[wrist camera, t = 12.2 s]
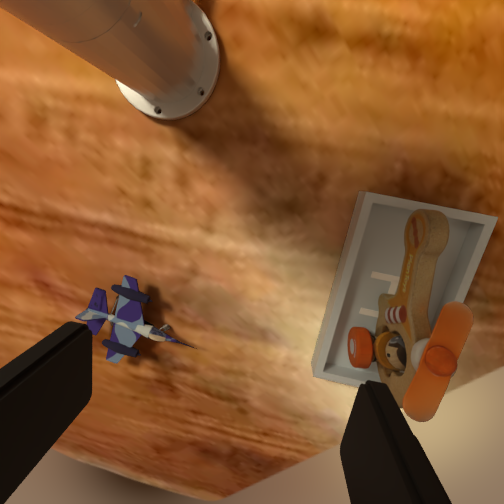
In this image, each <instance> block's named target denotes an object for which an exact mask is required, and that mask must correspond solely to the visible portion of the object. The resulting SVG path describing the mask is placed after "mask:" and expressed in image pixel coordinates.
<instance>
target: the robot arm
mask: <svg viewBox="0 0 504 504" xmlns="http://www.w3.org/2000/svg"><path fill="white" fill-rule="evenodd" d="M0 7H1V8H2V9H4V10H6V11H7V12H9V13H10V14H12V15H14V16H15V17H17V18H19V19H20V20H22V21H24V22H25V23H27V24H28V25H30V26H32V27H33V28H35V29H36V30H38V31H40V32H41V33H43V34H44V35H46V36H47V37H49V38H51V39H52V40H54V41H55V42H57V43H59V44H60V45H62V46H63V47H65V48H67V49H68V50H70V51H71V52H73V53H75V54H76V55H78V56H79V57H81V58H82V59H84V60H86V61H87V62H89V63H90V64H92V65H94V66H95V67H97V68H98V69H100V70H102V71H103V72H105V73H106V74H108V75H109V76H111V77H113V78H114V79H115V81H116V83H117V85H118V87H119V89H120V91H121V93H122V94H123V95H124V96H125V98H126V99H127V100H128V102H130V103H131V104H132V105H133V106H134V107H135V108H136V109H138V110H140V111H141V112H143V113H145V114H146V115H149V116H151V117H153V118H157V119H161V120H176V119H181V118H184V117H186V116H189V115H191V114H193V113H194V112H195V111H197V110H198V109H200V108H201V107H202V106H203V104H204V103H205V102H206V101H207V100H208V98H209V97H210V95H211V94H212V92H213V90H214V88H215V85H216V83H217V80H218V75H219V71H220V50H219V44H218V40H217V37H216V34H215V32H214V29H213V27H212V24H211V23H210V21H209V19H208V18H207V16H206V14H205V13H204V12H203V11H202V10H201V9H200V7H199V6H198V5H197V4H195V3H194V2H193V1H192V0H0ZM209 38H211V40H210V41H208V39H209ZM202 92H204V95H203V96H201V93H202ZM160 110H162V111H161V113H160V114H159V112H160ZM91 395H92V331H91V330H90V329H89V327H88V325H86V324H82V323H77V322H72V321H70V322H67V323H65V324H64V325H62V326H61V327H60V328H58V329H57V330H55V331H54V332H52V333H51V334H49V335H48V336H47V337H45V338H44V339H42V340H41V341H39V342H38V343H37V344H35V345H34V346H32V347H31V348H29V349H28V350H26V351H25V352H24V353H22V354H21V355H19V356H18V357H16V358H15V359H14V360H12V361H11V362H9V363H8V364H6V365H5V366H3V367H2V368H1V369H0V504H4V503H5V502H6V501H7V499H8V498H9V497H10V496H11V494H12V493H13V492H14V491H15V490H16V489H17V487H18V486H19V485H20V484H21V483H22V481H23V480H24V479H25V478H26V477H27V475H28V474H29V473H30V472H31V471H32V469H33V468H34V467H35V466H36V465H37V463H38V462H39V461H40V460H41V459H42V457H43V456H44V455H45V453H47V451H48V450H49V449H50V448H51V447H52V446H53V444H54V443H55V442H56V441H57V440H58V438H59V437H60V436H61V435H62V434H63V432H64V431H65V430H66V429H67V428H68V426H69V425H70V424H71V423H72V422H73V420H74V419H75V418H76V417H77V416H78V414H79V413H80V412H81V411H82V410H83V408H84V407H85V406H86V405H87V403H88V402H89V400H90V398H91ZM340 456H341V461H342V466H343V470H344V474H345V479H346V484H347V488H348V493H349V497H350V502H351V504H452V503H451V501H450V499H449V497H448V495H447V493H446V492H445V490H444V488H443V486H442V484H441V482H440V480H439V478H438V476H437V475H436V473H435V471H434V469H433V467H432V465H431V463H430V461H429V460H428V458H427V456H426V454H425V452H424V450H423V448H422V447H421V444H420V443H419V441H418V439H417V438H416V436H415V435H413V433H412V431H411V429H410V427H409V425H408V424H407V421H406V420H405V418H404V416H403V414H402V412H401V410H400V408H399V406H398V404H397V402H396V400H395V398H394V397H393V395H392V393H391V391H390V389H389V387H388V385H387V384H385V383H381V382H376V381H371V380H367V381H366V382H365V384H363V383H362V384H360V386H359V389H358V392H357V395H356V398H355V401H354V405H353V408H352V411H351V414H350V417H349V420H348V423H347V426H346V429H345V432H344V435H343V439H342V442H341V445H340Z"/></svg>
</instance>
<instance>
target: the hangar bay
mask: <svg viewBox="0 0 504 504" xmlns="http://www.w3.org/2000/svg"><path fill="white" fill-rule="evenodd" d="M417 209H429V210H437V211H440V212H442V213H443V214H444V215H445V216H446V217H447V220H448V223H449V230H450V232H449V239H448V243H447V245H446V248H445V249H444V251H443V252H442V253H441V254H440V256H439V257H438V260H437V263H436V269H435V274H434V280H433V285H432V291H431V296H430V302H429V308H428V318H429V322H430V326H431V330H432V331H433V329H434V326H435V324H436V322H437V319H438V317H439V314H440V312H441V309H442V307H443V306H444V305H445V304H446V303H449V302H453V301H457V302H461V303H463V302H464V299H465V297H466V294H467V292H468V289H469V287H470V285H471V282H472V280H473V277H474V275H475V273H476V270H477V268H478V265H479V263H480V260H481V258H482V256H483V253H484V251H485V248H486V246H487V243H488V241H489V239H490V236H491V234H492V231H493V229H494V226H495V224H496V222H497V219H498V217H495V216H489V215H484V214H479V213H474V212H469V211H464V210H459V209H453V208H448V207H443V206H438V205H433V204H428V203H423V202H418V201H412V200H407V199H402V198H397V197H392V196H387V195H382V194H376V193H371V192H366V191H359V193H358V197H357V200H356V204H355V207H354V211H353V215H352V218H351V222H350V225H349V229H348V232H347V236H346V239H345V243H344V247H343V250H342V254H341V257H340V261H339V264H338V268H337V272H336V275H335V279H334V282H333V286H332V289H331V293H330V297H329V300H328V304H327V307H326V311H325V314H324V318H323V322H322V325H321V329H320V332H319V336H318V339H317V343H316V347H315V350H314V354H313V357H312V361H311V366H312V372H313V377H317V378H321V379H325V380H330V381H334V382H338V383H342V384H347V385H351V386H355V387H359V386H360V384H362V383H363V384H365V382H366V381H367V380H371V381H376V382H381V380H380V377H379V373H378V368H377V363H376V362H372V363H371V365H370V367H369V368H367V369H363V368H355V367H353V366H352V365H351V363H350V360H349V356H348V346H347V343H348V333H349V331H350V329H351V328H352V327H364V328H367V329H368V330H369V332H370V335H372V336H375V330H376V323H377V319H378V314H379V308H378V299H379V296H380V295H381V294H382V293H385V294H393V295H395V294H396V291H397V288H398V283H399V278H400V274H401V269H402V264H403V259H404V255H405V246H404V230H405V226H406V223H407V220H408V218H409V217H410V215H411V214H412V213H413V212H414V211H415V210H417ZM400 372H402V373H404V371H400Z"/></svg>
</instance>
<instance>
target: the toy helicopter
mask: <svg viewBox="0 0 504 504" xmlns="http://www.w3.org/2000/svg"><path fill="white" fill-rule="evenodd" d="M449 232H450V230H449V223H448V220H447V217H446V216H445V215H444V214H443V213H442V212H440V211H437V210H429V209H417V210H415V211H414V212H413V213H412V214H411V215H410V217H409V218H408V220H407V223H406V226H405V230H404V246H405V255H404V259H403V264H402V269H401V274H400V278H399V283H398V288H397V291H396V294H395V295H393V294H385V293H382V294H381V295H380V296H379V299H378V308H379V314H378V319H377V323H376V330H375V336H372V335H370V332H369V330H368V329H367V328H364V327H352V328H351V329H350V331H349V333H348V343H347V346H348V356H349V360H350V363H351V365H352V366H353V367H355V368H363V369H367V368H369V367H370V365H371V363H372V362H376V363H377V368H378V373H379V377H380V380H381V383H385V384H387V385H388V387H389V389H390V391H391V393H392V395H393V397H394V398H395V400H396V402H397V404H398V406H399V408H403V409H404V411H405V413H406V414H407V415H408V416H409V417H410V418H411V419H413V420H415V421H418V422H426V421H428V420H430V419H431V418H433V416H434V415H435V413H436V411H437V409H438V406H439V404H440V402H441V400H442V398H443V396H444V393H445V391H446V389H447V386H448V384H449V381H450V378H451V377H452V376H453V375H454V374H455V372H456V369H457V360H458V357H459V355H460V353H461V351H462V349H463V346H464V344H465V342H466V339H467V337H468V334H469V332H470V329H471V327H472V325H473V320H474V317H473V313H472V311H471V310H470V308H469V307H468V306H466V305H465V304H463V303H461V302H457V301H453V302H449V303H446V304H445V305H444V306H443V307H442V309H441V312H440V314H439V317H438V319H437V322H436V324H435V326H434V329H433V331H432V330H431V326H430V322H429V318H428V308H429V302H430V296H431V291H432V285H433V280H434V274H435V269H436V263H437V260H438V257H439V256H440V254H441V253H442V252H443V251H444V249H445V248H446V245H447V243H448V239H449ZM400 371H404V373H402V372H400Z"/></svg>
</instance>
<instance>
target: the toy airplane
mask: <svg viewBox="0 0 504 504" xmlns="http://www.w3.org/2000/svg"><path fill="white" fill-rule="evenodd" d="M111 289H112V290H113V291H114V292H116V293H117V294H119V296H117V297H116V299H117V300H116V302H115V304H114V307H113V309H112V311H111V314H109V313H108V307H107V298H106V291H105V290H102V289H99V288H95V290H94V293H93V296H92V298H91V301H90V303H89V306H88V308H87V309H86V310H85V311H84V312H82V313H80V314H79V315H77V316H76V317H75V318H76V319H79V320H81V321H87V325H88V327H89V329H90V330H91V331H92V334H93V335H97V333H98V332H99V330H100V329H101V327H102V325H103V324H104V322H105V321H106V320H109V321H111V326H112V325H113V324H114V325H113V330H112V334H111V339H110V340H107V339H105V340H103V341H102V344H103V345H104V346H105V347H107V348H108V352H107V357H106V360H108V361H111V362H113V363H118V362H119V361H120V360H121V358H122V357H123V356H124V355H127V356H132V357H136V356H137V355H141V354H140V353H139V350H137V349H135V348H134V347H132V346H133V344H134V343H135V342H136V341H137V340H138V339H139V337H140V336H141V335H143V336H145V337H147V338H149V339H152V340H154V341H171V342H176V343H181V344H184V343H182V342H179V341H178V340H176V339H174V338H172V337H170V336H169V335H167V334H166V333H164V331H166V330H169V329H170V326H169V325H163V327H162V328H163V329H164V331H161V329H162V328H160V329H158V328H156V327H155V326H154V325H153V324H151V323H149V322H147V321H145V320H144V318H143V312H142V306H141V302H143V303H146V304H147V303H148V302H153V301H152V300H151V299H150V296H148V295H146V294H144V293H142V292H140V291H139V289H138V283H137V279H135V278H133V277H130V276H127V275H125V276H124V277H123V281H122V285H112V287H111ZM117 301H118V304H117V308H116V313H115V315H112V312H113V310H114V308H115V305H116V303H117ZM112 323H113V324H112ZM184 345H187V344H184ZM187 346H189V345H187ZM190 347H192V346H190ZM193 348H194V347H193ZM196 349H197V348H196Z"/></svg>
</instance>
